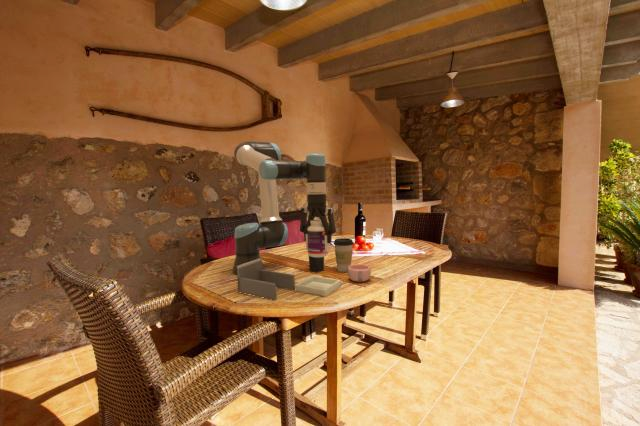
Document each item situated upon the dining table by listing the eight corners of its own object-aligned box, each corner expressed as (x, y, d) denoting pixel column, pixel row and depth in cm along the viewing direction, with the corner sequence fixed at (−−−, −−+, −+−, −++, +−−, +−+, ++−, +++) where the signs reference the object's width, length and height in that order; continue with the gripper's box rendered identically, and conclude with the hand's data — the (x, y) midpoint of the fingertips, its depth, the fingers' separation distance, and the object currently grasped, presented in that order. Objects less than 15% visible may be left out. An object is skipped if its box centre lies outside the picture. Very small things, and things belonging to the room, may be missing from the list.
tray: (295, 291, 120) (295, 285, 120) (312, 281, 132) (312, 275, 132) (325, 296, 114) (325, 290, 114) (340, 285, 126) (340, 280, 125)
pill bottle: (325, 258, 117) (325, 221, 115) (305, 257, 118) (304, 221, 117) (329, 253, 125) (328, 219, 123) (310, 253, 126) (309, 219, 125)
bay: (238, 292, 120) (236, 266, 119) (260, 282, 132) (259, 258, 131) (274, 300, 111) (273, 271, 110) (294, 289, 123) (294, 263, 122)
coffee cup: (332, 267, 153) (332, 238, 152) (351, 266, 154) (351, 237, 152) (335, 273, 143) (334, 242, 142) (355, 272, 144) (355, 241, 143)
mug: (373, 283, 128) (372, 269, 128) (349, 284, 128) (349, 270, 127) (367, 274, 140) (367, 262, 140) (345, 275, 140) (345, 263, 139)
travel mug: (326, 268, 152) (325, 229, 150) (321, 272, 145) (320, 231, 143) (312, 267, 154) (311, 228, 152) (306, 271, 147) (305, 231, 145)
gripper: (289, 194, 121) (291, 249, 123) (335, 193, 111) (337, 254, 113) (299, 193, 128) (301, 246, 130) (344, 193, 117) (345, 250, 120)
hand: (317, 250), depth 121 cm, fingers closed on pill bottle, 8 cm apart
